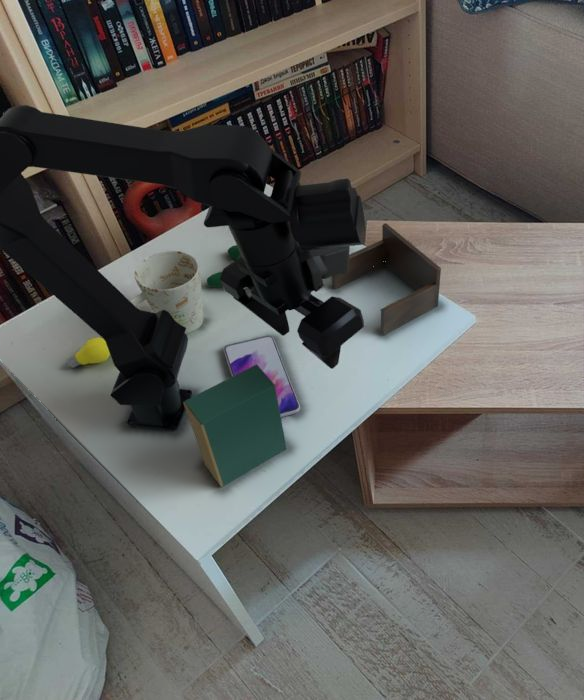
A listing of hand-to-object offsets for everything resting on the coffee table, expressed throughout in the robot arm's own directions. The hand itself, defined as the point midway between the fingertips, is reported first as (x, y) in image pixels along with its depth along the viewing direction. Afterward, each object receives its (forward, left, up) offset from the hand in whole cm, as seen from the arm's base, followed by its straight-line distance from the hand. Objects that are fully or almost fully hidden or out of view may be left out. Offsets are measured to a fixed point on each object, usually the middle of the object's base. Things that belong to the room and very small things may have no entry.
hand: (309, 349), depth 82 cm
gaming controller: (+26, +18, -13) cm, 34 cm away
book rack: (+24, -6, -13) cm, 28 cm away
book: (-8, +7, -13) cm, 17 cm away
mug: (+13, +24, -13) cm, 30 cm away
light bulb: (+7, +33, -11) cm, 36 cm away
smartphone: (+5, +9, -13) cm, 16 cm away
